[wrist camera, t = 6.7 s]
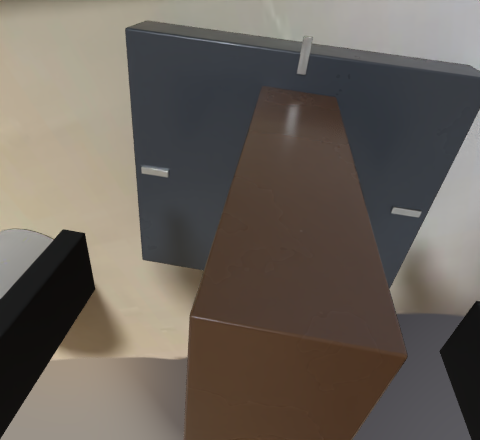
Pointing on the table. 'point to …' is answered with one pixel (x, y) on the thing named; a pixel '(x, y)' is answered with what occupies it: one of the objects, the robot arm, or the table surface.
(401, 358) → the brown red-tipped block
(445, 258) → the table surface
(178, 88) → the dark grey square slab
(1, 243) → the cup
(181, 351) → the table surface
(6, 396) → the robot arm
